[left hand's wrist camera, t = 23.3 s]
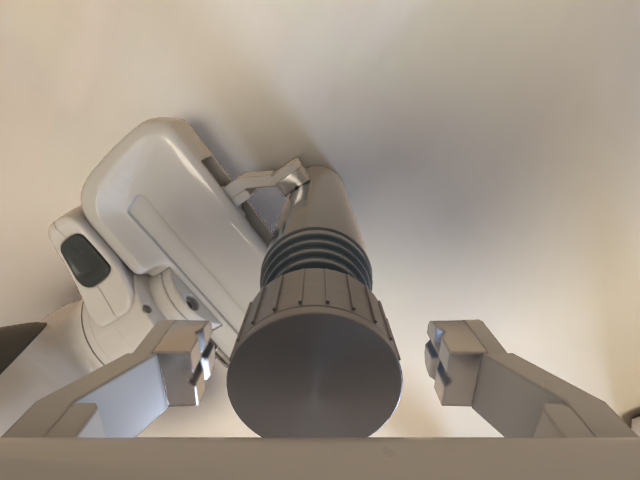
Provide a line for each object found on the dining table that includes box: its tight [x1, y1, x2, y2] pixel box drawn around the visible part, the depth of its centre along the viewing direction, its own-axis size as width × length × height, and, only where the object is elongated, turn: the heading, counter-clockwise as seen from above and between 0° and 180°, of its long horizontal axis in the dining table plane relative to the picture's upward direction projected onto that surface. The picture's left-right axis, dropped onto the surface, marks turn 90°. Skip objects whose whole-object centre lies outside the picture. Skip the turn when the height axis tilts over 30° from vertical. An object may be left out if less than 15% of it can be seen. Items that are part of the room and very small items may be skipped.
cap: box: [227, 268, 403, 438], centre depth 9 cm, size 4×4×2 cm
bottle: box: [260, 166, 373, 292], centre depth 18 cm, size 4×4×20 cm
